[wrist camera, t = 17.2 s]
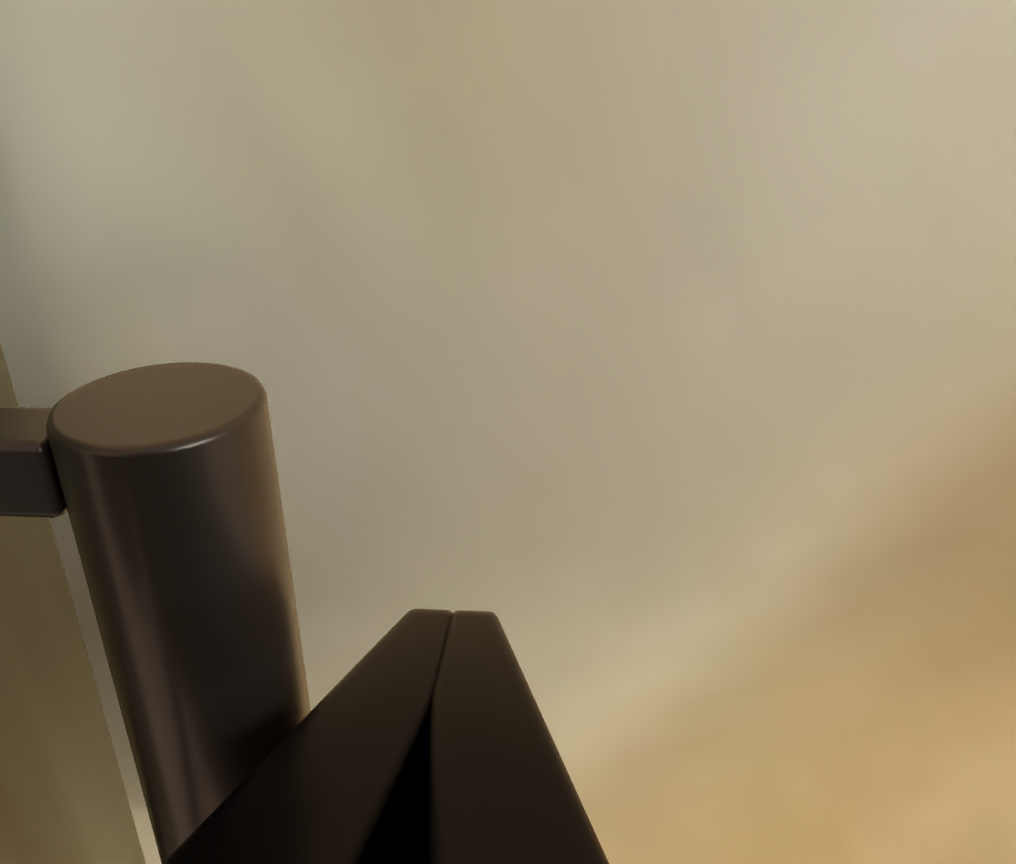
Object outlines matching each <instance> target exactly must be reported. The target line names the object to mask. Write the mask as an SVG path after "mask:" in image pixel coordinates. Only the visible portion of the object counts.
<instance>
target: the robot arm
mask: <svg viewBox="0 0 1016 864" xmlns="http://www.w3.org/2000/svg"><path fill="white" fill-rule="evenodd" d="M166 864H609V863H608V860H607V858H606V856H605V854H604V852H603V849H602V847H601V845H600V843H599V841H598V838H597V836H596V834H595V832H594V830H593V827H592V825H591V823H590V821H589V818H588V816H587V814H586V812H585V810H584V807H583V805H582V803H581V801H580V799H579V796H578V794H577V792H576V790H575V787H574V785H573V783H572V781H571V779H570V776H569V774H568V772H567V770H566V768H565V765H564V763H563V761H562V759H561V756H560V754H559V752H558V750H557V748H556V745H555V743H554V741H553V739H552V737H551V734H550V732H549V730H548V728H547V726H546V723H545V721H544V719H543V717H542V714H541V712H540V710H539V708H538V706H537V703H536V701H535V699H534V697H533V695H532V692H531V690H530V688H529V686H528V683H527V681H526V679H525V677H524V675H523V672H522V670H521V668H520V666H519V664H518V661H517V659H516V657H515V655H514V652H513V650H512V648H511V646H510V644H509V641H508V639H507V637H506V635H505V633H504V630H503V628H502V626H501V624H500V622H499V619H498V617H497V616H496V615H495V614H494V613H492V612H487V611H455V612H454V613H452V612H451V611H449V610H433V609H413V610H411V611H409V612H408V613H406V614H405V615H404V617H403V618H402V619H401V620H400V621H399V622H398V623H397V624H396V625H395V626H394V627H393V628H392V629H391V630H390V631H389V632H388V633H387V634H386V635H385V636H384V637H383V638H382V639H381V640H380V641H379V642H378V643H377V644H376V645H375V646H374V647H373V648H372V649H371V650H370V651H369V652H368V653H367V654H366V655H365V657H364V658H363V659H362V660H361V661H360V662H359V663H358V664H357V665H356V666H355V667H354V668H353V669H352V670H351V671H350V672H349V673H348V674H347V675H346V676H345V677H344V678H343V679H342V680H341V681H340V682H339V683H338V684H337V685H336V686H335V687H334V688H333V689H332V690H331V691H330V692H329V693H328V694H327V695H326V696H325V698H324V699H323V700H322V701H321V702H320V703H319V704H318V705H317V706H316V707H315V708H314V709H313V710H312V711H311V712H310V713H309V714H308V715H307V716H306V717H305V718H304V719H303V720H302V721H301V722H300V723H299V724H298V725H297V726H296V727H295V728H294V729H293V730H292V731H291V732H290V733H289V734H288V735H287V736H286V737H285V739H284V740H283V741H282V742H281V743H280V744H279V745H278V746H277V747H276V748H275V749H274V750H273V751H272V752H271V753H270V754H269V755H268V756H267V757H266V758H265V759H264V760H263V761H262V762H261V763H260V764H259V765H258V766H257V767H256V768H255V769H254V770H253V771H252V772H251V773H250V774H249V775H248V776H247V777H246V779H245V780H244V781H243V782H242V783H241V784H240V785H239V786H238V787H237V788H236V789H235V790H234V791H233V792H232V793H231V794H230V795H229V796H228V797H227V798H226V799H225V800H224V801H223V802H222V803H221V804H220V805H219V806H218V807H217V808H216V809H215V810H214V811H213V812H212V813H211V814H210V815H209V816H208V817H207V818H206V820H205V821H204V822H203V823H202V824H201V825H200V826H199V827H198V828H197V829H196V830H195V831H194V832H193V833H192V834H191V835H190V836H189V837H188V838H187V839H186V840H185V841H184V842H183V843H182V844H181V845H180V846H179V847H178V848H177V849H176V850H175V851H174V852H173V853H172V854H171V855H170V856H169V857H168V859H167V860H166Z"/></svg>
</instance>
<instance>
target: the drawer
mask: <svg viewBox="0 0 1016 864" xmlns="http://www.w3.org/2000/svg"><path fill="white" fill-rule="evenodd" d="M67 510H68V514H69V517H70V521H71V525H72V529H73V532H74V536H75V540H76V544H77V547H78V551H79V555H80V559H81V562H82V566H83V570H84V574H85V577H86V581H87V585H88V589H89V592H90V596H91V600H92V604H93V607H94V611H95V615H96V619H97V622H98V626H99V630H100V634H101V637H102V641H103V645H104V649H105V652H106V656H107V660H108V663H109V667H110V671H111V675H112V678H113V682H114V686H115V690H116V693H117V697H118V701H119V705H120V708H121V712H122V716H123V720H124V723H125V727H126V731H127V735H128V738H129V742H130V746H131V750H132V753H133V757H134V761H135V765H136V768H137V772H138V776H139V780H140V783H141V787H142V791H143V795H144V798H145V802H146V806H147V809H148V813H149V817H150V821H151V824H152V828H153V832H154V836H155V839H156V843H157V847H158V851H159V854H160V858H161V862H162V864H166V860H167V859H168V857H169V856H170V855H171V854H172V853H173V852H174V851H175V850H176V849H177V848H178V847H179V846H180V845H181V844H182V843H183V842H184V841H185V840H186V839H187V838H188V837H189V836H190V835H191V834H192V833H193V832H194V831H195V830H196V829H197V828H198V827H199V826H200V825H201V824H202V823H203V822H204V821H205V820H206V818H207V817H208V816H209V815H210V814H211V813H212V812H213V811H214V810H215V809H216V808H217V807H218V806H219V805H220V804H221V803H222V802H223V801H224V800H225V799H226V798H227V797H228V796H229V795H230V794H231V793H232V792H233V791H234V790H235V789H236V788H237V787H238V786H239V785H240V784H241V783H242V782H243V781H244V780H245V779H246V777H247V776H248V775H249V774H250V773H251V772H252V771H253V770H254V769H255V768H256V767H257V766H258V765H259V764H260V763H261V762H262V761H263V760H264V759H265V758H266V757H267V756H268V755H269V754H270V753H271V752H272V751H273V750H274V749H275V748H276V747H277V746H278V745H279V744H280V743H281V742H282V741H283V740H284V739H285V737H286V736H287V735H288V734H289V733H290V732H291V731H292V730H293V729H294V728H295V727H296V726H297V725H298V724H299V723H300V722H301V721H302V720H303V719H304V718H305V717H306V716H307V715H308V714H309V713H310V712H311V710H310V702H309V695H308V688H307V681H306V674H305V667H304V660H303V652H302V645H301V638H300V631H299V624H298V617H297V610H296V602H295V595H294V588H293V581H292V574H291V567H290V560H289V552H288V545H287V538H286V531H285V524H284V517H283V510H282V502H281V495H280V488H279V481H278V474H277V467H276V460H275V452H274V445H273V438H272V431H271V424H270V417H269V409H268V402H267V395H266V392H265V389H264V388H263V386H262V385H261V383H260V382H259V381H258V379H257V378H255V377H254V376H253V375H251V374H249V373H247V372H246V371H243V370H240V369H238V368H234V367H230V366H226V365H220V364H212V363H196V362H194V363H168V364H158V365H151V366H145V367H140V368H135V369H130V370H126V371H122V372H119V373H115V374H112V375H109V376H106V377H103V378H100V379H97V380H95V381H93V382H90V383H88V384H86V385H84V386H82V387H80V388H78V389H76V390H74V391H72V392H71V393H69V394H68V395H66V396H65V397H64V398H62V399H61V400H60V401H59V402H58V403H57V404H56V405H55V406H54V407H53V408H18V404H17V401H16V397H15V394H14V390H13V386H12V383H11V379H10V376H9V372H8V369H7V365H6V361H5V358H4V354H3V351H2V347H1V343H0V864H146V863H145V859H144V856H143V852H142V848H141V845H140V841H139V838H138V834H137V830H136V827H135V823H134V820H133V816H132V813H131V809H130V805H129V802H128V798H127V795H126V791H125V788H124V784H123V780H122V777H121V773H120V770H119V766H118V762H117V759H116V755H115V752H114V748H113V745H112V741H111V737H110V734H109V730H108V727H107V723H106V719H105V716H104V712H103V709H102V705H101V702H100V698H99V694H98V691H97V687H96V684H95V680H94V676H93V673H92V669H91V666H90V662H89V659H88V655H87V651H86V648H85V644H84V641H83V637H82V634H81V630H80V626H79V623H78V619H77V616H76V612H75V608H74V605H73V601H72V598H71V594H70V591H69V587H68V583H67V580H66V576H65V573H64V569H63V565H62V562H61V558H60V555H59V551H58V548H57V544H56V540H55V537H54V533H53V530H52V526H51V522H50V519H49V518H54V517H57V516H60V515H62V514H64V513H65V512H66V511H67Z"/></svg>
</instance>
